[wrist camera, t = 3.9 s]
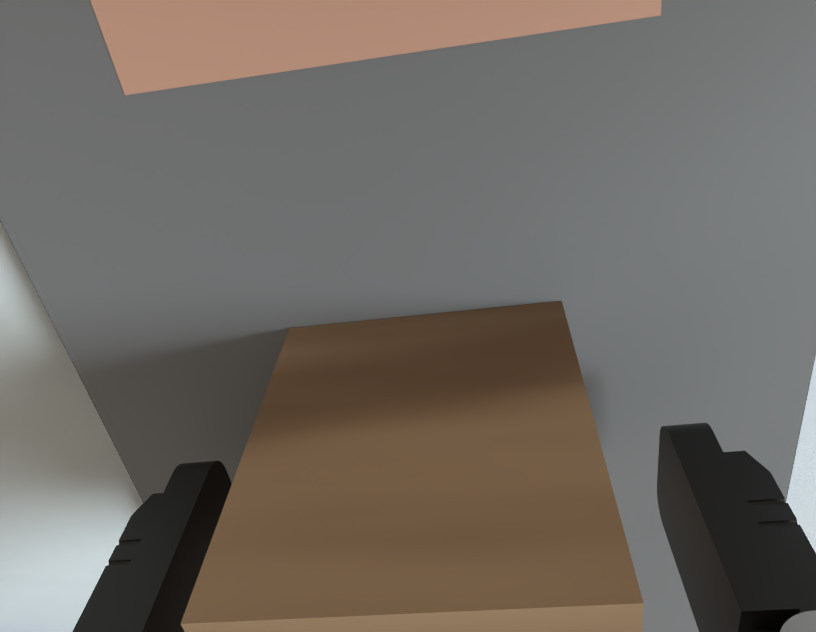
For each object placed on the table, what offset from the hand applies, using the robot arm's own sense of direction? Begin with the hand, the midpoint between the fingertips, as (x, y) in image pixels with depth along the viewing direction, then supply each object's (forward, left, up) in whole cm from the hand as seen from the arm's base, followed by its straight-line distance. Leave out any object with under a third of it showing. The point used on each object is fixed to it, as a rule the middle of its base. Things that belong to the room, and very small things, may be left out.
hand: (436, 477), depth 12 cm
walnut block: (0, 0, -1) cm, 1 cm away
